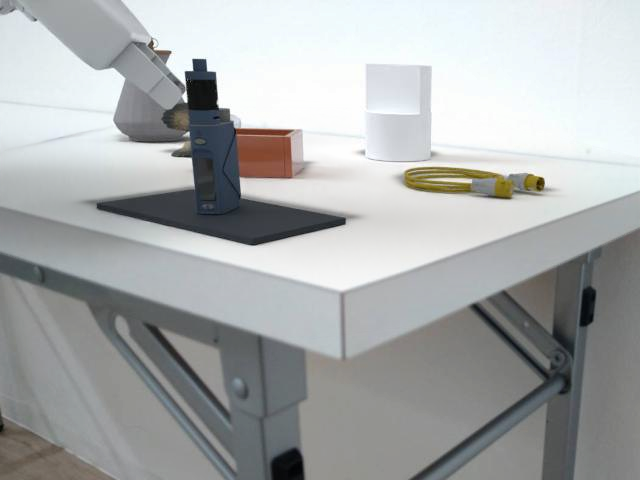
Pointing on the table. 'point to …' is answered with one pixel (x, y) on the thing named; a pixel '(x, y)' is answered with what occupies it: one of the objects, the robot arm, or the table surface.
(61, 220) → the table surface
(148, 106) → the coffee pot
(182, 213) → the mat
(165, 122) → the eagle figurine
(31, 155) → the table surface
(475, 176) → the extension cord
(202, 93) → the vaping device
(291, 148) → the open box
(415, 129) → the base with upright slab
